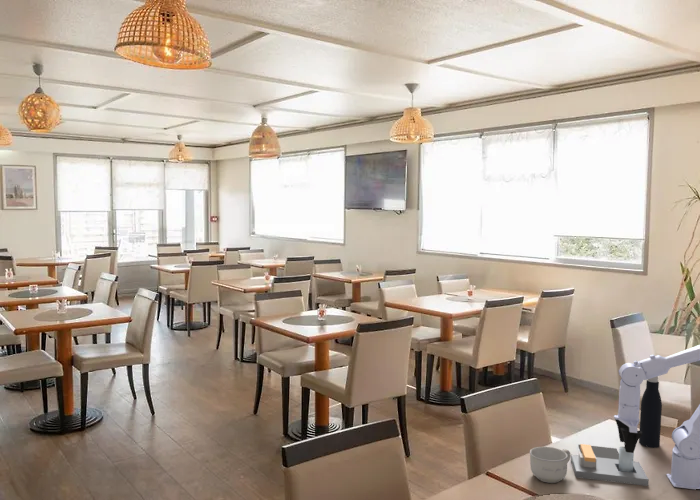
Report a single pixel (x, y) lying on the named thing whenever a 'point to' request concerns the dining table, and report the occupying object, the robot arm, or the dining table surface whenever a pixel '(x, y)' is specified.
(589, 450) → the plunger
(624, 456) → the cylinder
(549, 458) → the teacup
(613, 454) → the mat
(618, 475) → the housing
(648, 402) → the black bottle
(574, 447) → the dining table surface
